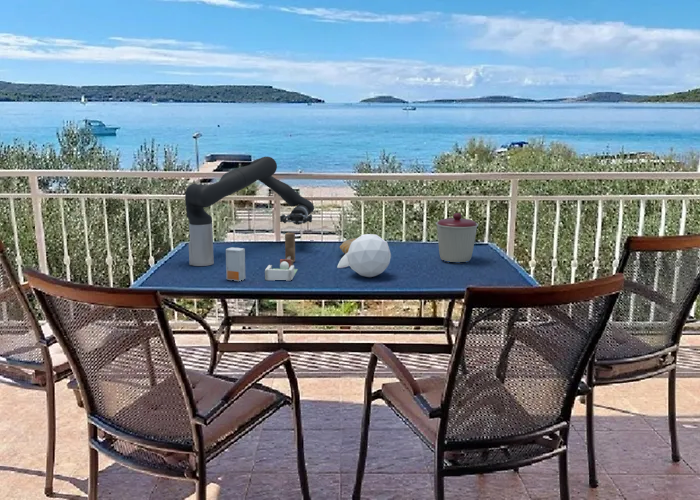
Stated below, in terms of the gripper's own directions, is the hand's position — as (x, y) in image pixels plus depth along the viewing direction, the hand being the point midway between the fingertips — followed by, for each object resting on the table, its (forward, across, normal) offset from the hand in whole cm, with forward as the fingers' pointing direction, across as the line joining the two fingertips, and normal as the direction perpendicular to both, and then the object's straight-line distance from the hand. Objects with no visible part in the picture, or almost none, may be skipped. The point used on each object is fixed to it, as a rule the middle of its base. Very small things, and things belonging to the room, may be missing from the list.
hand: (294, 221), depth 264 cm
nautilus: (-2, +30, +16) cm, 35 cm away
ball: (+28, 0, +13) cm, 31 cm away
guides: (+23, 0, +15) cm, 27 cm away
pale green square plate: (+31, 0, +15) cm, 34 cm away
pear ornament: (+28, +32, +16) cm, 45 cm away
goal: (+40, 0, +15) cm, 42 cm away
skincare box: (+43, -16, +15) cm, 49 cm away
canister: (+4, +71, +16) cm, 73 cm away
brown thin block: (+18, 0, +15) cm, 24 cm away
